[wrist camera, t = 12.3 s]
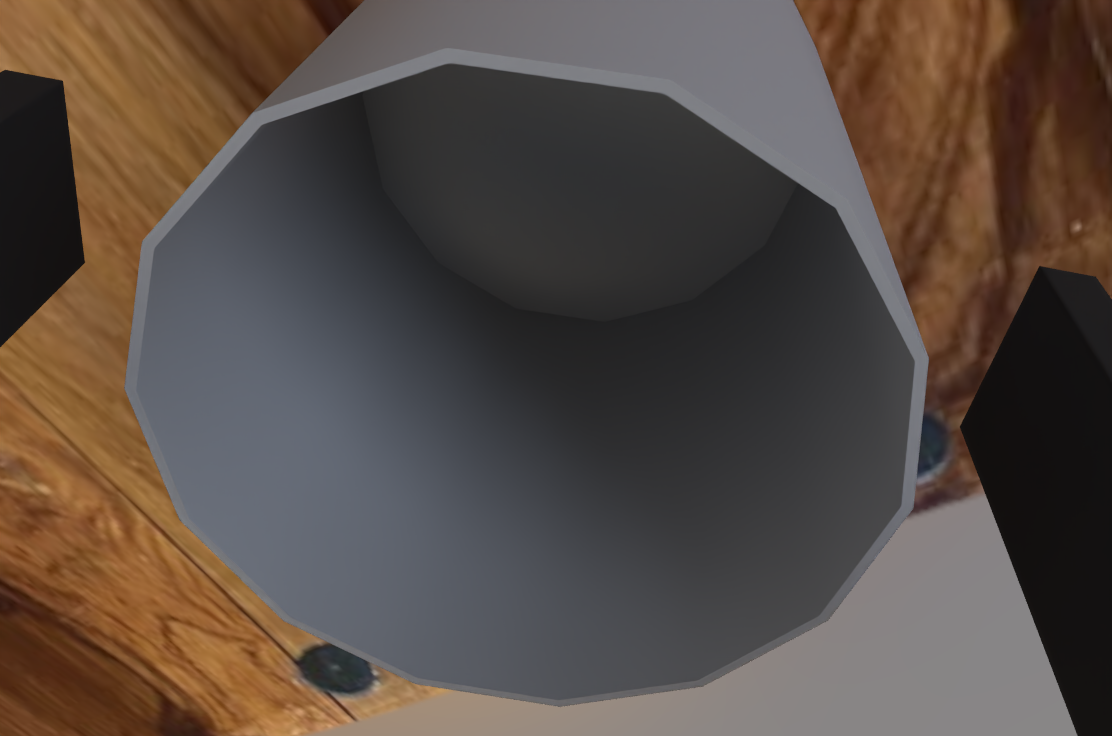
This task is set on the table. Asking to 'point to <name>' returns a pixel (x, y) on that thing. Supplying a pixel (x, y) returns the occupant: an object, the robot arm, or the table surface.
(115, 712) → the table surface
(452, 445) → the cup
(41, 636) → the table surface
